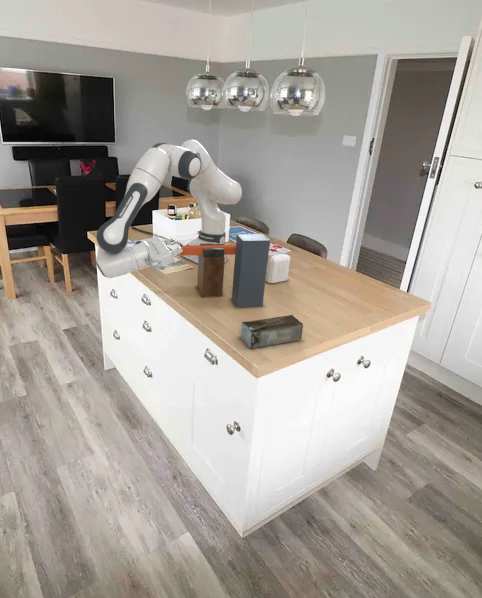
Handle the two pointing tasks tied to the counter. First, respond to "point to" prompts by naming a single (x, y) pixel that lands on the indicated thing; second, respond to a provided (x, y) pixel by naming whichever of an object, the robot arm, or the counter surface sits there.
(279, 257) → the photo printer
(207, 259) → the wood grain post
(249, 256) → the stand
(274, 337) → the beverage carton
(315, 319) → the counter surface
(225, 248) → the orange bar
